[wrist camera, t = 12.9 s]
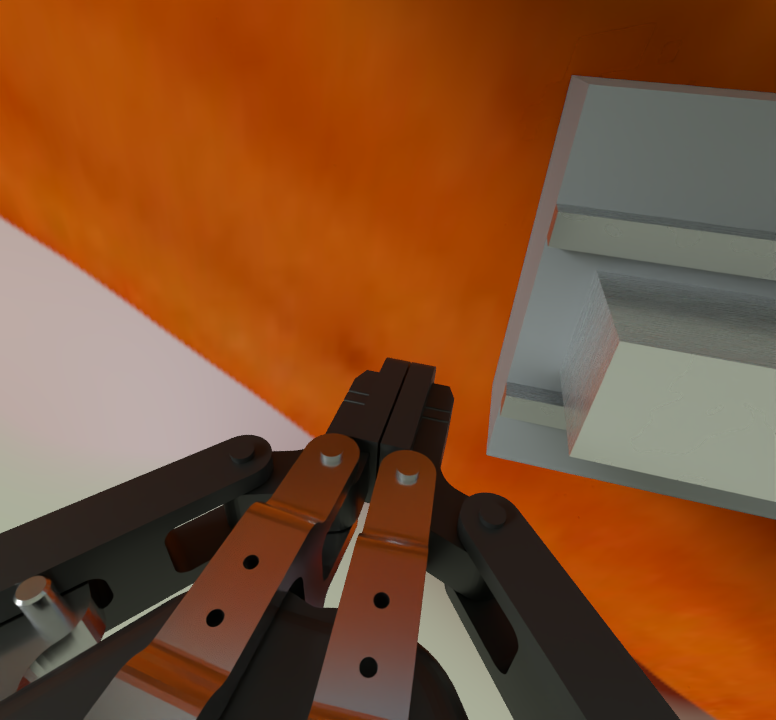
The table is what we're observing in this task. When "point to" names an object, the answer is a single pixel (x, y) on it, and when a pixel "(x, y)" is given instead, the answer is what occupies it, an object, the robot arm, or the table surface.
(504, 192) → the table surface
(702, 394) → the aluminium block
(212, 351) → the table surface
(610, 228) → the channel stand
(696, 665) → the table surface
